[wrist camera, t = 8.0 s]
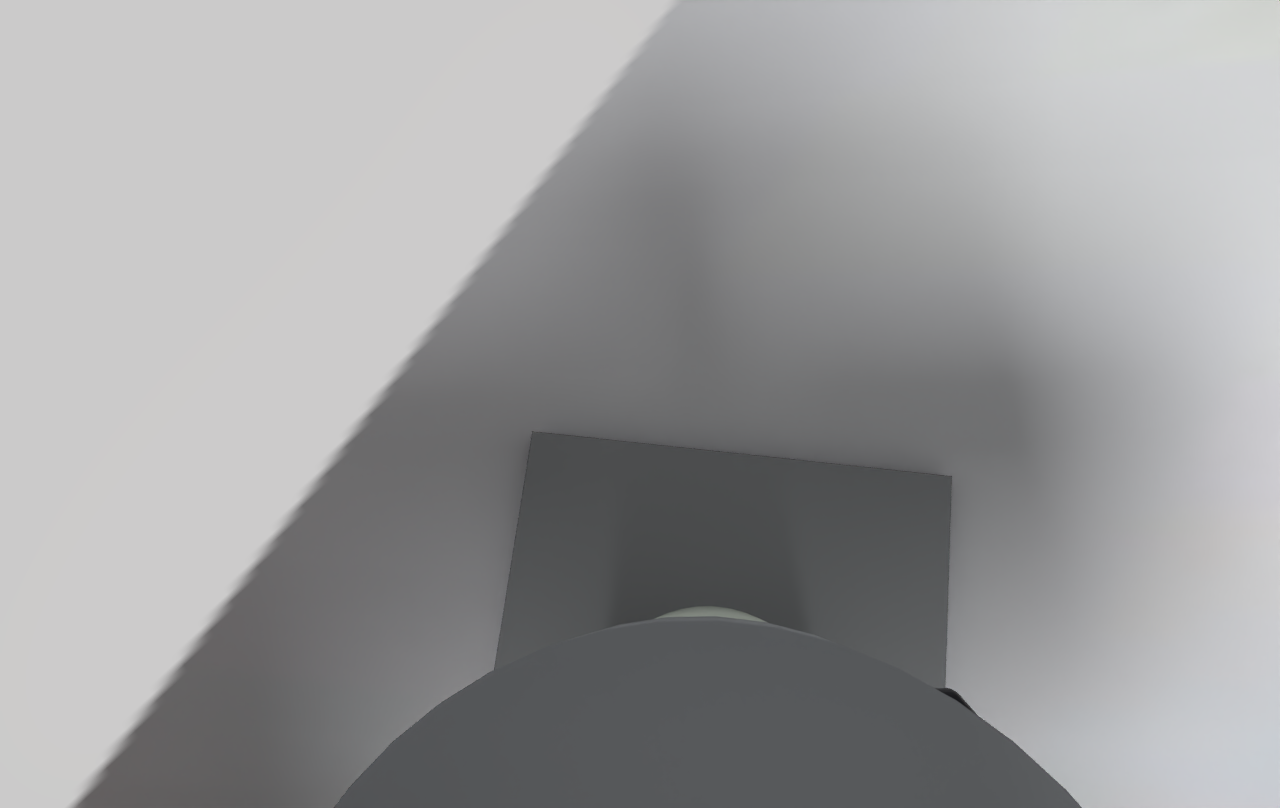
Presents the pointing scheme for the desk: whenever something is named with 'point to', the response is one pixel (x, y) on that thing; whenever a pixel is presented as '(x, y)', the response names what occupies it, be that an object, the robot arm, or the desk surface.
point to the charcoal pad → (729, 547)
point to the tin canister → (702, 730)
